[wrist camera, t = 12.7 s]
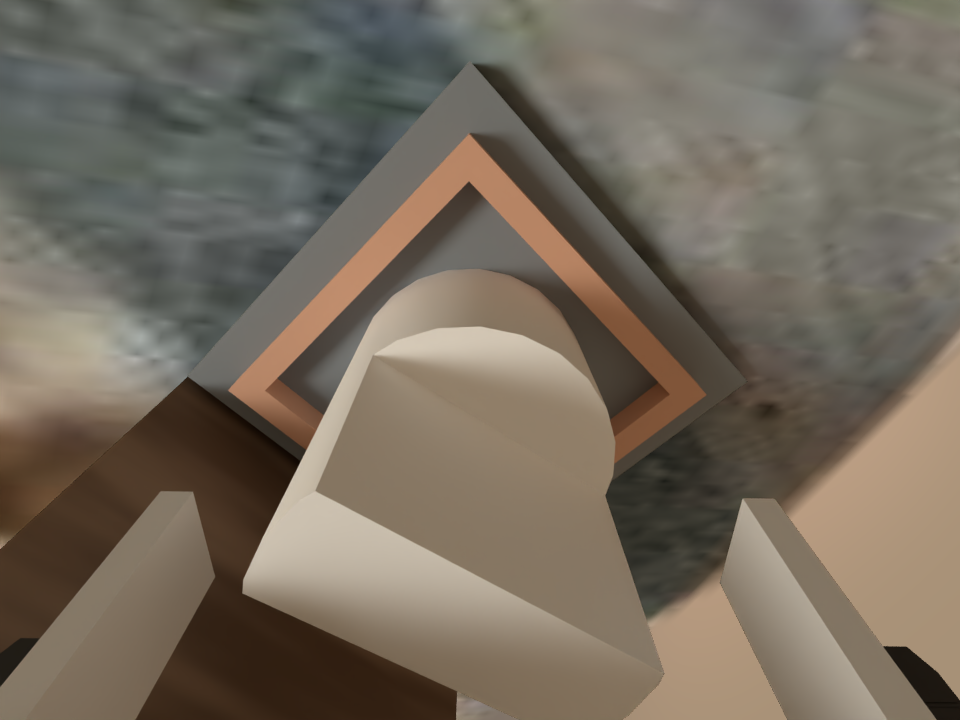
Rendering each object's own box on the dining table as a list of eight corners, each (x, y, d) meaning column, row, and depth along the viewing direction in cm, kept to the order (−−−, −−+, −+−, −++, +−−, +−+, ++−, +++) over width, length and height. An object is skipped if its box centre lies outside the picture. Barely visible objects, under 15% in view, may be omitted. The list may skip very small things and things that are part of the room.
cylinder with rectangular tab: (628, 352, 22) (779, 594, 11) (495, 502, 25) (509, 811, 14) (437, 219, 20) (389, 356, 9) (317, 401, 23) (168, 673, 12)
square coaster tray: (470, 63, 19) (469, 57, 17) (737, 370, 23) (761, 395, 21) (198, 365, 23) (172, 389, 21) (468, 571, 28) (467, 606, 26)
